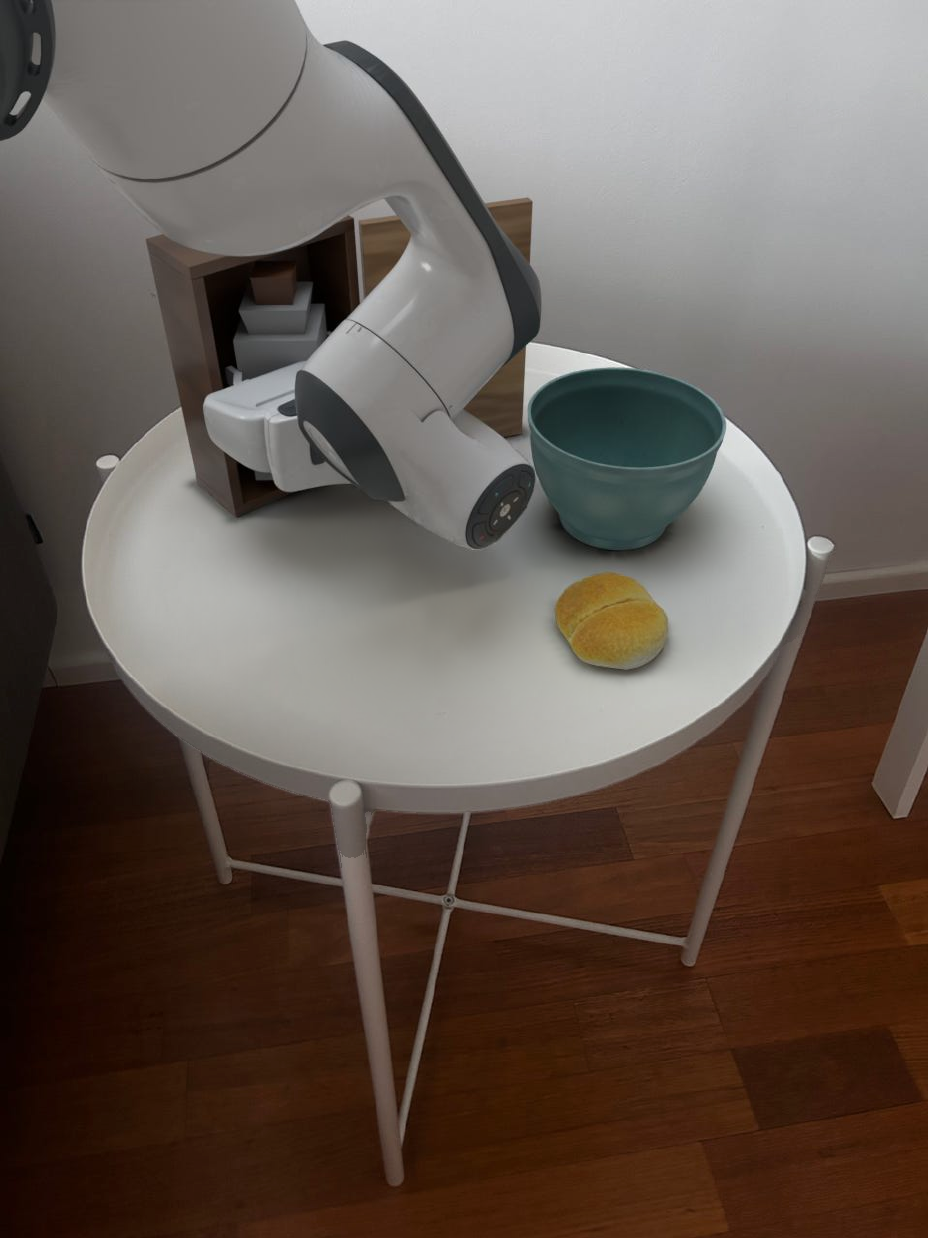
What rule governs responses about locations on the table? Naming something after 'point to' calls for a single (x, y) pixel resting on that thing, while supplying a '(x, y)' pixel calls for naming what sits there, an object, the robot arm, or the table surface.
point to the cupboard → (206, 326)
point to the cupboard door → (506, 387)
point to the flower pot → (622, 451)
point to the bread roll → (611, 621)
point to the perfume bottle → (276, 323)
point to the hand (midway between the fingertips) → (278, 356)
